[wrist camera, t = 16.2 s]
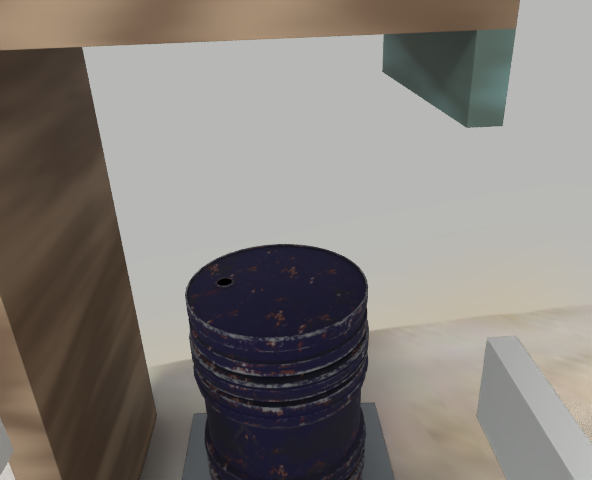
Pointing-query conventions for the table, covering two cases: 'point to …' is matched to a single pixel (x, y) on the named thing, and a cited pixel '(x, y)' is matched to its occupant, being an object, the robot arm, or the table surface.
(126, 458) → the wooden gallows frame
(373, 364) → the table surface
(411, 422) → the table surface
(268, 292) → the rusty oil drum
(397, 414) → the table surface
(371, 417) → the pad
